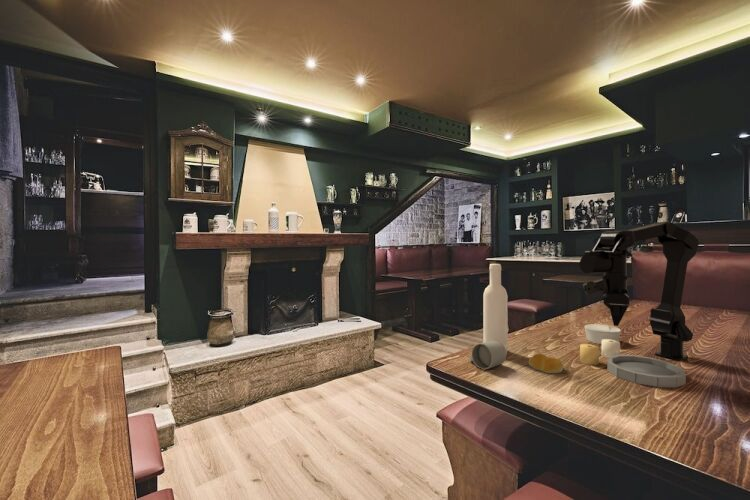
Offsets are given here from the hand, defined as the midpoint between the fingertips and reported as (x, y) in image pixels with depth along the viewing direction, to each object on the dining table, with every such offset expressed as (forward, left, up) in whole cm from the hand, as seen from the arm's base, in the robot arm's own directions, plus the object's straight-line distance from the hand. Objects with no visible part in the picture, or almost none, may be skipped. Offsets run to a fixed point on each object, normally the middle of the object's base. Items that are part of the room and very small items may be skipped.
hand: (615, 322), depth 107 cm
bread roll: (+23, -7, -13) cm, 27 cm away
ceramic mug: (+37, -17, -13) cm, 42 cm away
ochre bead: (+7, -4, -13) cm, 15 cm away
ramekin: (-18, -15, -13) cm, 27 cm away
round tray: (+3, +9, -13) cm, 16 cm away
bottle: (+25, -25, -13) cm, 37 cm away
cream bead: (-4, -4, -13) cm, 14 cm away
